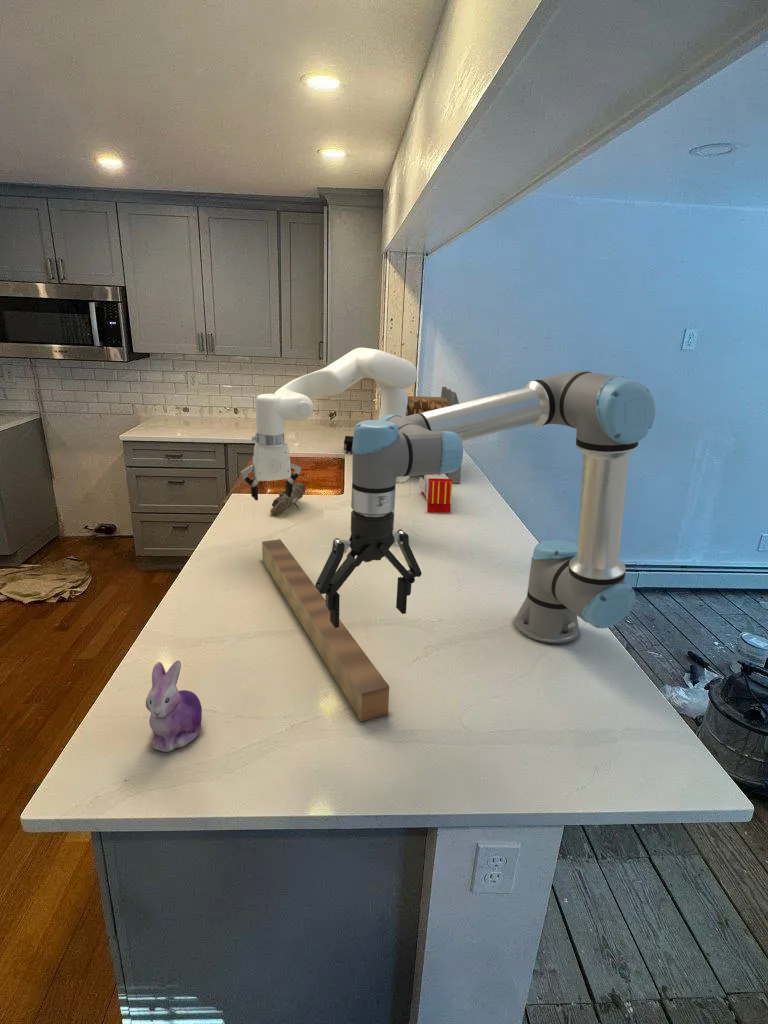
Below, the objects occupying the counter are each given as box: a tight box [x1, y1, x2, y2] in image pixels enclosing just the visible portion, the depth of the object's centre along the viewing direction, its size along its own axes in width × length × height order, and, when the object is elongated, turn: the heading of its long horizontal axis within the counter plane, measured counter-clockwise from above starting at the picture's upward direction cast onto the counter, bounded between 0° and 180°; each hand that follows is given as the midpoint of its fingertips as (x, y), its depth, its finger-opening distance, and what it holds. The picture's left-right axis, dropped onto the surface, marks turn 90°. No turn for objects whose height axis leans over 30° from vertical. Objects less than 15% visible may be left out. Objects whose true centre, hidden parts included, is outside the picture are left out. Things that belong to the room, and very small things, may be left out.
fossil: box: [270, 481, 307, 517], centre depth 218 cm, size 22×10×15 cm
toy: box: [418, 474, 453, 514], centre depth 233 cm, size 12×13×30 cm
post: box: [261, 538, 390, 723], centre depth 141 cm, size 78×6×6 cm, turn 25°
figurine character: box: [343, 435, 353, 455], centre depth 308 cm, size 7×8×15 cm
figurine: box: [145, 660, 203, 753], centre depth 100 cm, size 9×10×15 cm
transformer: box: [406, 386, 464, 484], centre depth 268 cm, size 34×33×41 cm
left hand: (272, 497), depth 164 cm, fingers open, 9 cm apart
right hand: (368, 617), depth 106 cm, fingers open, 13 cm apart
